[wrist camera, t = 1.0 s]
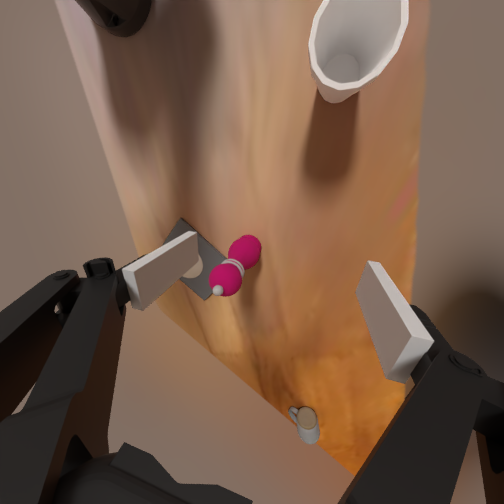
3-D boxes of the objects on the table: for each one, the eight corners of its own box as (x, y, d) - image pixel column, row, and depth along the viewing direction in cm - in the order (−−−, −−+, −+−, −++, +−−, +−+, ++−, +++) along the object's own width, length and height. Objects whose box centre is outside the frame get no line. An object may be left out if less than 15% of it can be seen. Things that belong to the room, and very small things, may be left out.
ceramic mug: (317, 406, 68) (317, 433, 61) (319, 420, 71) (320, 447, 64) (287, 401, 72) (284, 426, 65) (290, 414, 74) (288, 439, 68)
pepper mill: (268, 253, 48) (244, 305, 31) (244, 262, 51) (210, 315, 34) (254, 228, 46) (221, 268, 29) (230, 239, 49) (187, 281, 32)
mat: (155, 256, 59) (153, 257, 58) (181, 217, 50) (179, 218, 50) (205, 299, 60) (204, 300, 60) (237, 268, 52) (236, 269, 52)
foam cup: (383, 78, 30) (428, 28, 19) (330, 127, 34) (340, 110, 23) (348, 22, 29) (374, -69, 17) (297, 80, 33) (291, 37, 22)
